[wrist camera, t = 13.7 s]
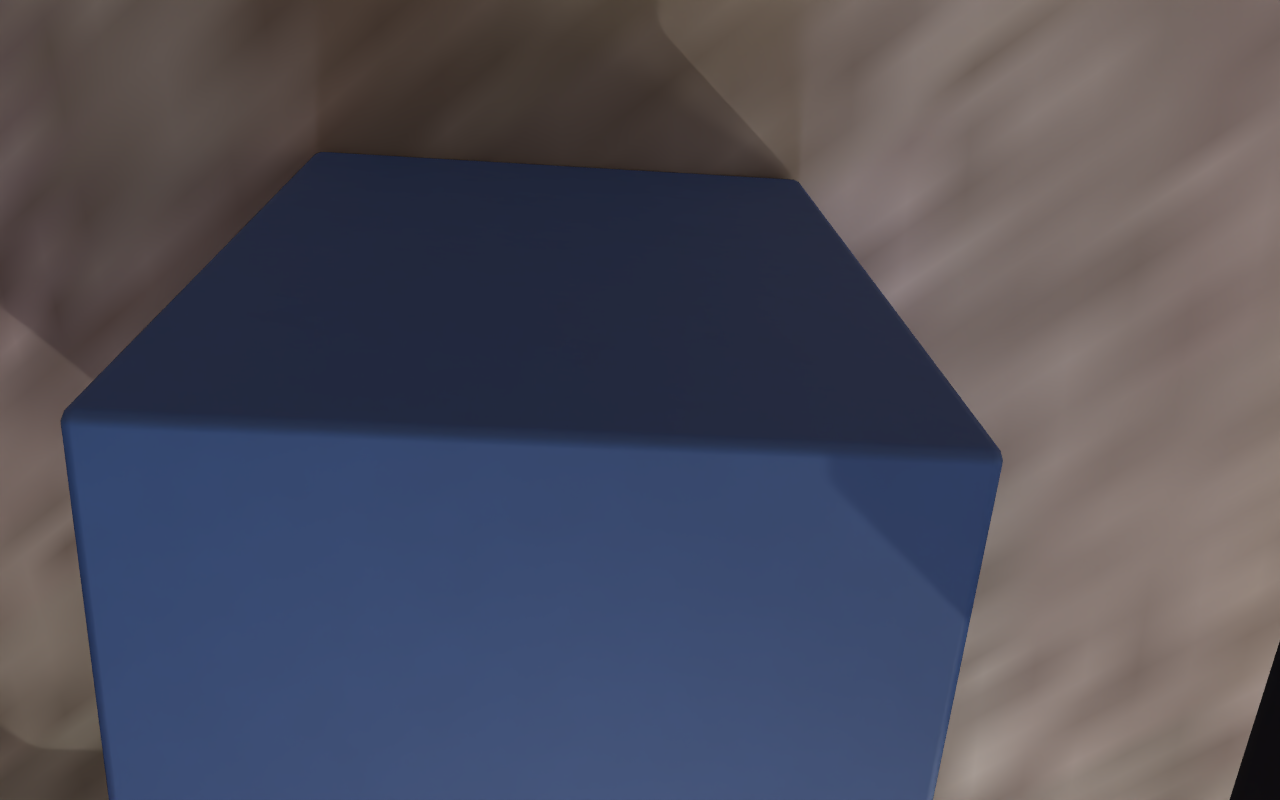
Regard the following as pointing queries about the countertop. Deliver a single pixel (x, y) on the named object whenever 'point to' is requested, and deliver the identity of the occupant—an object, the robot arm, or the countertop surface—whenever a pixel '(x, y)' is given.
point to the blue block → (527, 501)
